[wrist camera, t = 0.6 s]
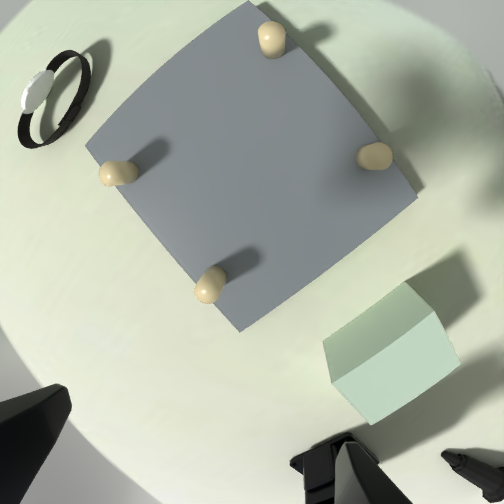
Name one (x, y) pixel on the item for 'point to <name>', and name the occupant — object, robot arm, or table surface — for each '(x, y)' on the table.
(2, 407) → the robot arm
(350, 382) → the board block
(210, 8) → the table surface
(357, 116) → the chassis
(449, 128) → the table surface
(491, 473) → the microphone
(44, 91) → the watch
